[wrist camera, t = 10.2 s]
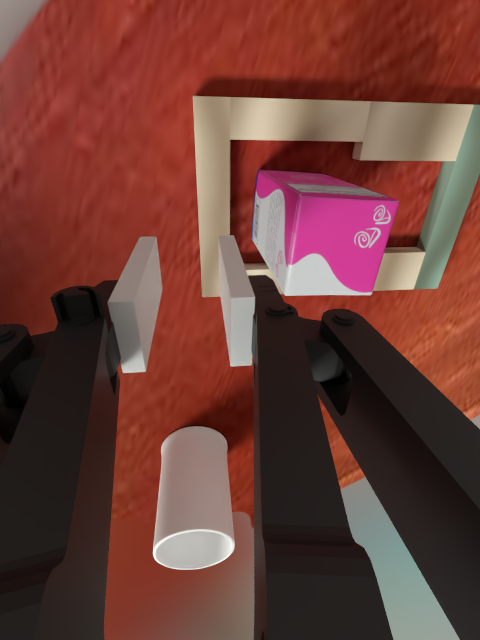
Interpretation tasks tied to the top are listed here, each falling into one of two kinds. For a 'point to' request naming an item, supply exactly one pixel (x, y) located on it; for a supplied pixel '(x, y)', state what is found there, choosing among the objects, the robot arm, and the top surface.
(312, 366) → the robot arm
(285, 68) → the top surface
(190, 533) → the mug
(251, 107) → the cream and green frame
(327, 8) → the top surface
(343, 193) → the supplement box
